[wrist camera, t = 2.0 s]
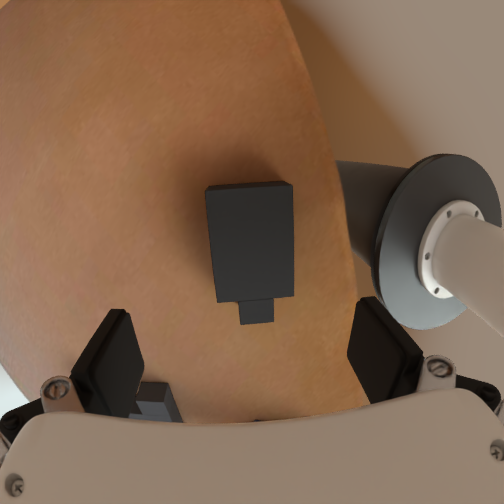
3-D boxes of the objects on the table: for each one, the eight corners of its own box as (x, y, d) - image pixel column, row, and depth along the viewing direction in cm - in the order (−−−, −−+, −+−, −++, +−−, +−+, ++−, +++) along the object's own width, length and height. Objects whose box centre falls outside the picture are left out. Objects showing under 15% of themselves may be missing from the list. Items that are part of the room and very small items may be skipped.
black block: (284, 180, 25) (292, 184, 22) (287, 301, 29) (293, 320, 26) (208, 186, 25) (204, 190, 21) (221, 307, 29) (220, 326, 26)
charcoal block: (168, 382, 33) (163, 402, 29) (184, 424, 36) (182, 442, 33) (92, 378, 32) (84, 394, 29) (116, 419, 35) (110, 435, 32)
